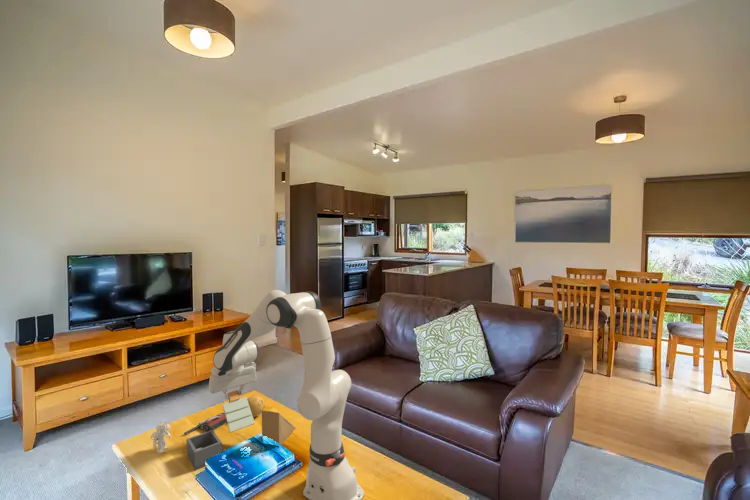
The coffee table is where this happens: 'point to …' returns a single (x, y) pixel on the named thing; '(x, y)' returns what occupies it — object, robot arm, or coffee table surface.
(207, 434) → the parts tub
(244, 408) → the lid
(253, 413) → the stress ball
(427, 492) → the coffee table surface
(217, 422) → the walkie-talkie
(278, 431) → the sandwich container
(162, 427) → the flower shoulder figurine
